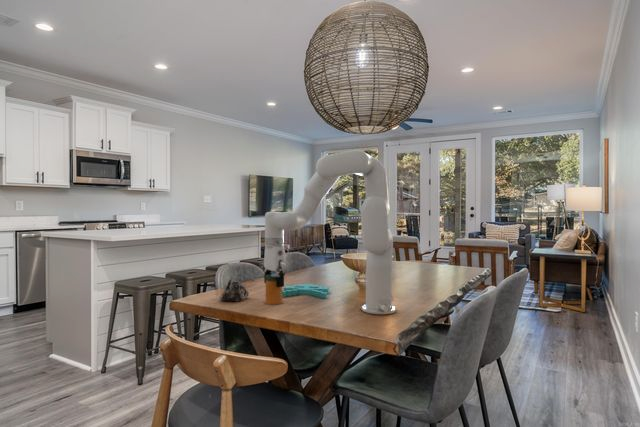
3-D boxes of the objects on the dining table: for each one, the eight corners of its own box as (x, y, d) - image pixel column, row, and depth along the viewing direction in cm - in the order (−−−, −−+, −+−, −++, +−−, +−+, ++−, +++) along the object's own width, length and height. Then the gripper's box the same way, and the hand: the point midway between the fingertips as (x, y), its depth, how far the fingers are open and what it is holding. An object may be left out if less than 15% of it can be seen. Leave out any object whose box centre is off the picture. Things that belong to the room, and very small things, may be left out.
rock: (239, 308, 161) (252, 285, 166) (218, 296, 161) (231, 274, 166) (238, 313, 173) (250, 292, 177) (218, 302, 173) (230, 282, 177)
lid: (281, 277, 169) (281, 273, 169) (283, 280, 162) (283, 276, 162) (264, 278, 168) (264, 273, 168) (265, 281, 161) (265, 276, 161)
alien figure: (326, 298, 173) (329, 289, 193) (326, 293, 173) (330, 284, 193) (279, 297, 175) (287, 288, 195) (279, 291, 175) (288, 283, 195)
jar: (283, 303, 163) (283, 277, 162) (266, 304, 161) (266, 278, 161) (280, 300, 169) (280, 275, 169) (264, 301, 167) (264, 275, 167)
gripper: (293, 243, 160) (293, 287, 160) (271, 240, 174) (271, 280, 174) (276, 244, 155) (276, 289, 156) (255, 241, 169) (255, 282, 170)
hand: (273, 284), depth 165 cm, fingers open, 9 cm apart
